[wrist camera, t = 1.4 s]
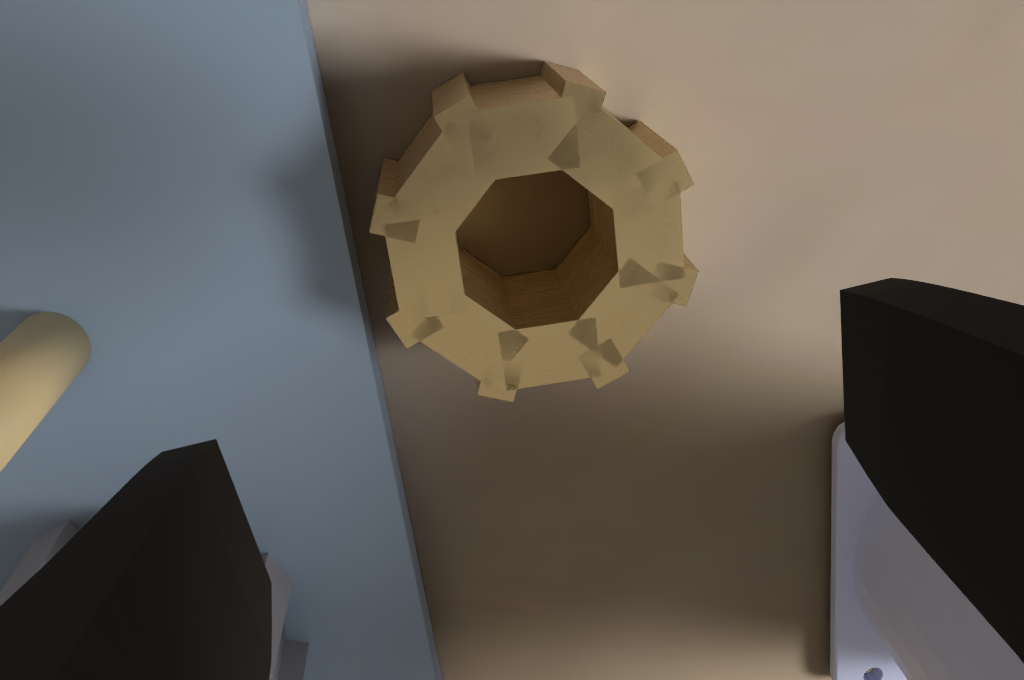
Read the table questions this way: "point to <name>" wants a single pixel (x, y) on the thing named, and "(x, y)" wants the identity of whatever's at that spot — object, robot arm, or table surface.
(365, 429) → the gear board
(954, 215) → the table surface
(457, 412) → the table surface
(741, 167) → the table surface
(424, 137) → the brass cog
